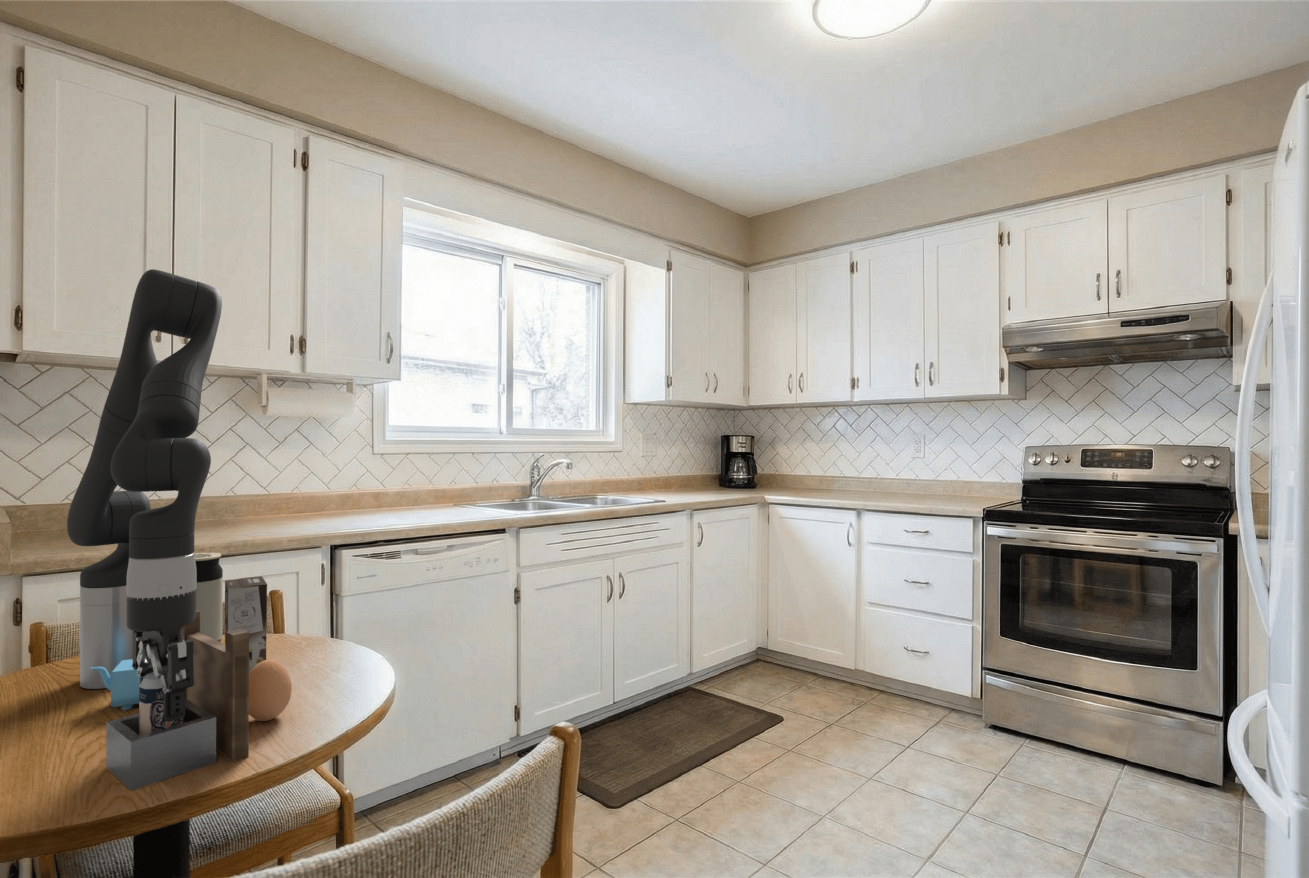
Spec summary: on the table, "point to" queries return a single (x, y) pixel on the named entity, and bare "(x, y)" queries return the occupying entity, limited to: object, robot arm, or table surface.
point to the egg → (268, 690)
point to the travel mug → (209, 594)
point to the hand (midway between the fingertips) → (161, 711)
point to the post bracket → (160, 748)
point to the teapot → (122, 684)
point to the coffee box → (248, 613)
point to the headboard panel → (222, 685)
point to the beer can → (152, 706)
